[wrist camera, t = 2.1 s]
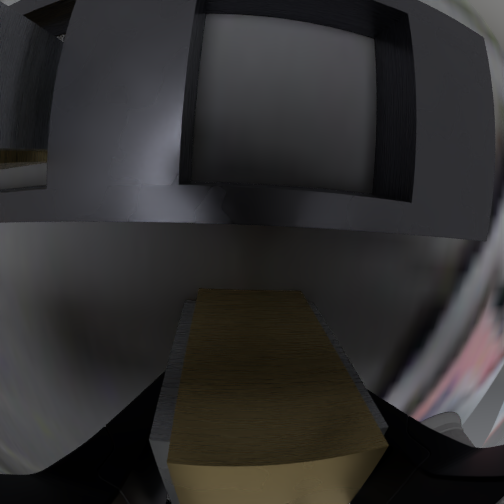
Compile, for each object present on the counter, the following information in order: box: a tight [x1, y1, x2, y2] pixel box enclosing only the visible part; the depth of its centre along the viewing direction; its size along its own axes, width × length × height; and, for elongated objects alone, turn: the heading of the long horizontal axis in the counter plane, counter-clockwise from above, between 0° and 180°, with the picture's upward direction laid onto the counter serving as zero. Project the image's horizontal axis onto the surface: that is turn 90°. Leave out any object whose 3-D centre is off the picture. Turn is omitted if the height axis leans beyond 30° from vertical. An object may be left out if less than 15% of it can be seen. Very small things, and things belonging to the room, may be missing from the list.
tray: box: [0, 0, 495, 241], centre depth 7 cm, size 8×22×2 cm, turn 87°
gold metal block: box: [149, 288, 389, 504], centre depth 7 cm, size 4×4×7 cm
